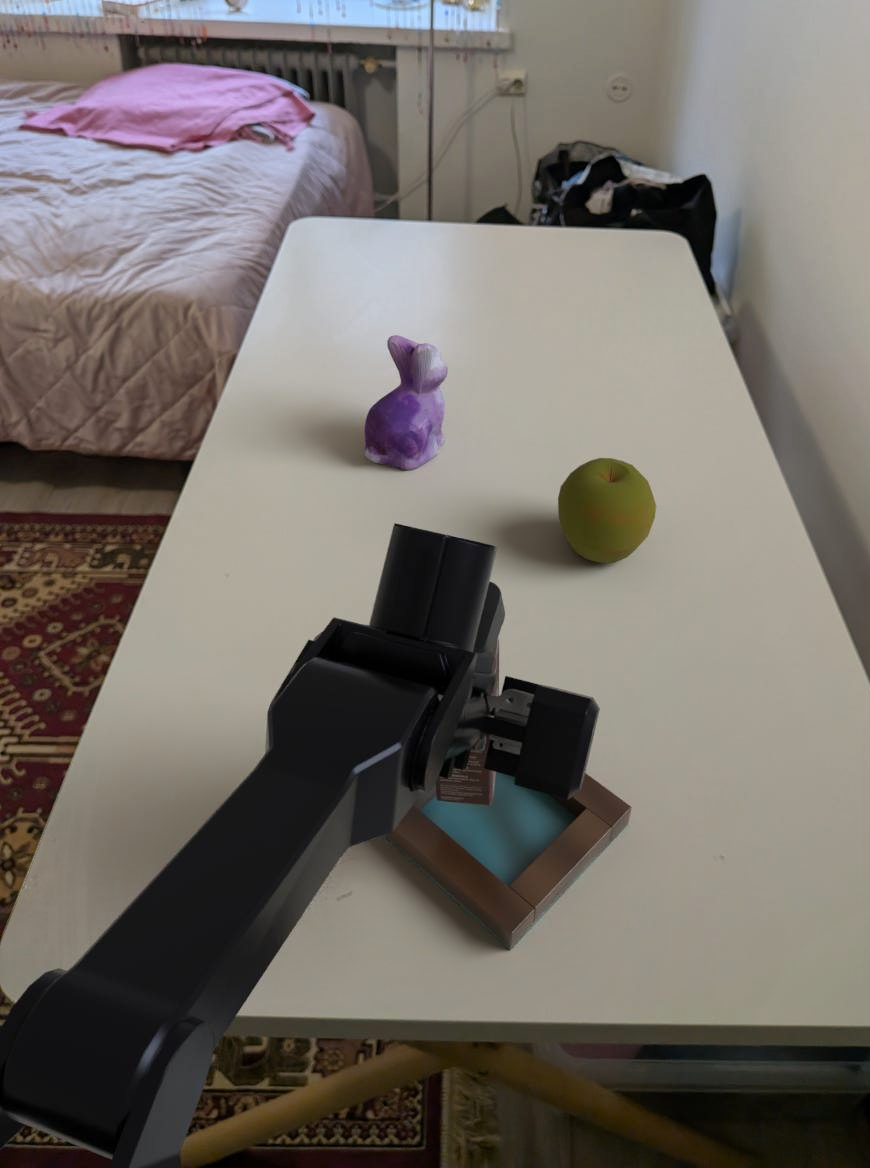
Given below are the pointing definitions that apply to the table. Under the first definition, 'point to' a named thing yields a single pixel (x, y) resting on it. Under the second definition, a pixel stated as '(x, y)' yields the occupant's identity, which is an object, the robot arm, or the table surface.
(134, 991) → the robot arm
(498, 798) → the socket
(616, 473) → the apple
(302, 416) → the table surface
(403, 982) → the table surface
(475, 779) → the box
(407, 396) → the figurine
